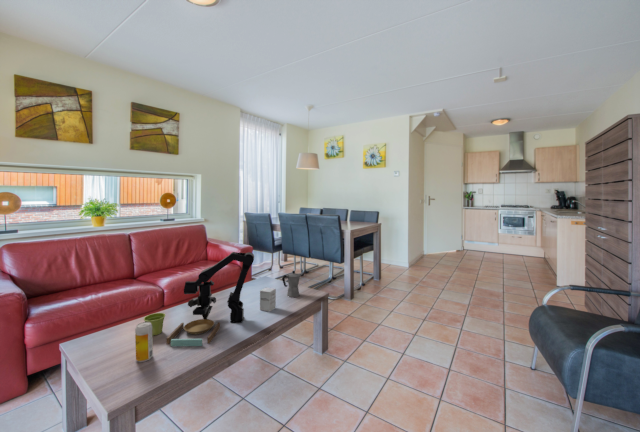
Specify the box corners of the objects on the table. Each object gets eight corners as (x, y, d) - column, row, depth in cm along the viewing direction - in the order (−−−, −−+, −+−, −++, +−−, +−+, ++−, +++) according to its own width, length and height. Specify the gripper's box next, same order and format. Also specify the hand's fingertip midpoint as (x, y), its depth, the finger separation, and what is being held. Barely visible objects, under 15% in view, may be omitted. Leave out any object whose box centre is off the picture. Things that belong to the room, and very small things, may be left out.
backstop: (202, 344, 128) (202, 338, 128) (201, 345, 127) (201, 339, 127) (171, 345, 127) (171, 339, 127) (170, 346, 126) (170, 340, 126)
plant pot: (155, 338, 133) (155, 321, 133) (139, 336, 135) (139, 319, 134) (169, 330, 142) (169, 313, 142) (154, 328, 144) (154, 312, 144)
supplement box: (259, 310, 169) (259, 290, 169) (266, 306, 176) (266, 286, 176) (269, 312, 167) (269, 292, 166) (276, 307, 174) (276, 288, 173)
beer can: (141, 354, 119) (140, 321, 118) (155, 354, 120) (154, 321, 119) (132, 363, 113) (131, 328, 112) (148, 362, 114) (147, 327, 113)
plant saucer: (185, 325, 148) (185, 321, 147) (214, 321, 153) (214, 317, 152) (181, 338, 134) (181, 333, 134) (214, 334, 139) (214, 329, 139)
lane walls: (220, 327, 145) (220, 322, 145) (209, 343, 129) (209, 337, 129) (181, 328, 144) (181, 322, 144) (166, 344, 128) (166, 338, 128)
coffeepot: (298, 292, 204) (298, 268, 203) (304, 295, 196) (304, 271, 195) (279, 295, 196) (279, 270, 195) (284, 299, 188) (285, 274, 187)
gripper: (197, 287, 159) (197, 313, 160) (182, 299, 141) (182, 328, 142) (216, 287, 160) (216, 313, 161) (204, 299, 141) (204, 328, 142)
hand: (205, 320), depth 151 cm, fingers closed
